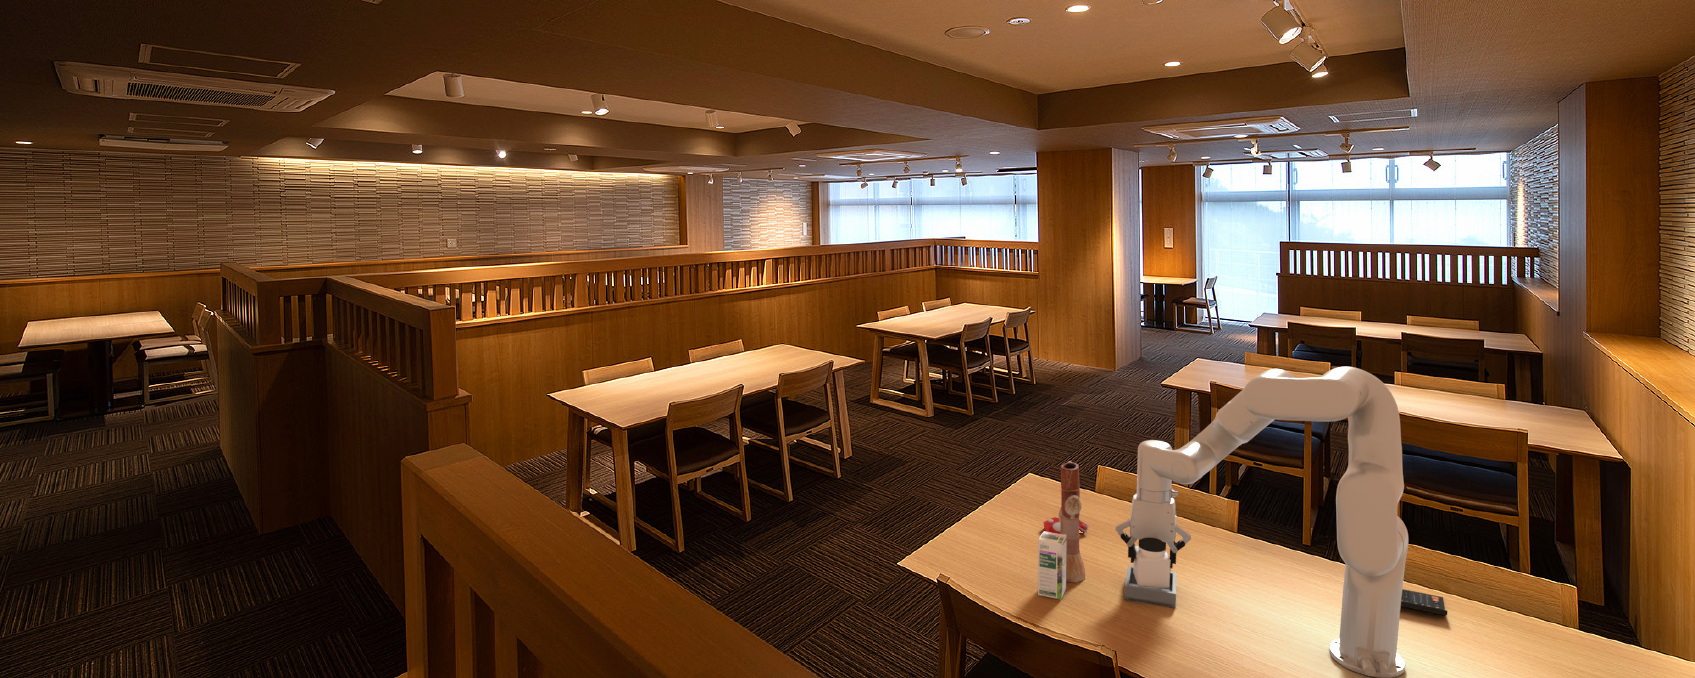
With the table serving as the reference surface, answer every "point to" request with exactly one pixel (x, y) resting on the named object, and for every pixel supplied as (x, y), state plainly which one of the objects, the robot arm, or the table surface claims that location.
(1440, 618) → the table surface
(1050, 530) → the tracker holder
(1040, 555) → the syrup box
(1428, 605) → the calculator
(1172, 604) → the bin
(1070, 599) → the table surface
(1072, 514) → the vase
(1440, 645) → the table surface
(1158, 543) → the medicine bottle
